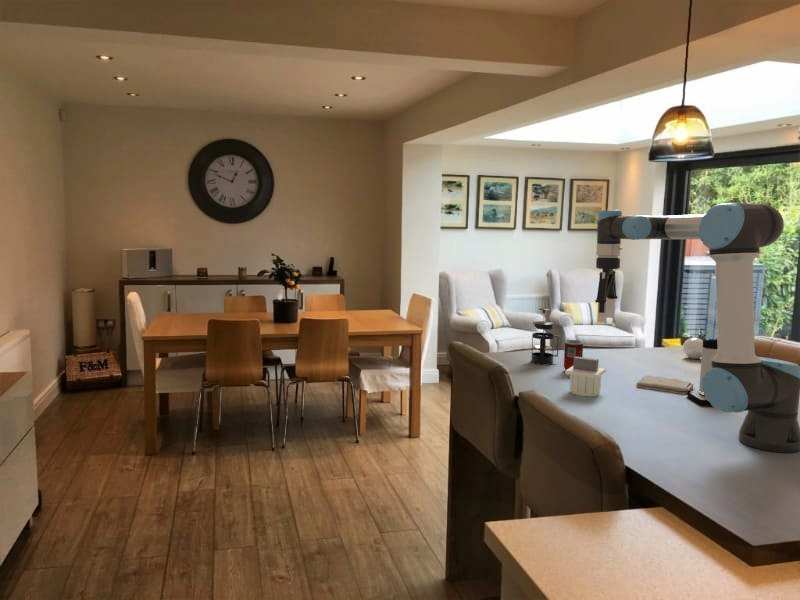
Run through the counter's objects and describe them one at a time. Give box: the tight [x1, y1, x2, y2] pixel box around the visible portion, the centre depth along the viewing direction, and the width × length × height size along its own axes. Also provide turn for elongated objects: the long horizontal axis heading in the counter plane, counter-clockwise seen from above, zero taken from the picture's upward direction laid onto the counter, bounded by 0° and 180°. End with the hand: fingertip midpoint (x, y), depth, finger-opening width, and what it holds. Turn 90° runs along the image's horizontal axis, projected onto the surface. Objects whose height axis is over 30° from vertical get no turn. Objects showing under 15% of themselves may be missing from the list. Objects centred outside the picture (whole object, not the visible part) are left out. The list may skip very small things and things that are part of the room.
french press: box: [530, 307, 560, 365], centre depth 271 cm, size 12×9×23 cm
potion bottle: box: [682, 337, 704, 360], centre depth 281 cm, size 9×10×15 cm
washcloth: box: [636, 375, 694, 395], centre depth 232 cm, size 12×18×3 cm, turn 57°
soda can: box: [563, 339, 584, 371], centre depth 255 cm, size 7×7×12 cm
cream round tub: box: [569, 375, 602, 397], centre depth 224 cm, size 10×10×7 cm
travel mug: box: [698, 338, 718, 392], centre depth 222 cm, size 6×7×20 cm
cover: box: [564, 356, 607, 378], centre depth 224 cm, size 11×11×5 cm
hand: (605, 320), depth 216 cm, fingers open, 13 cm apart
